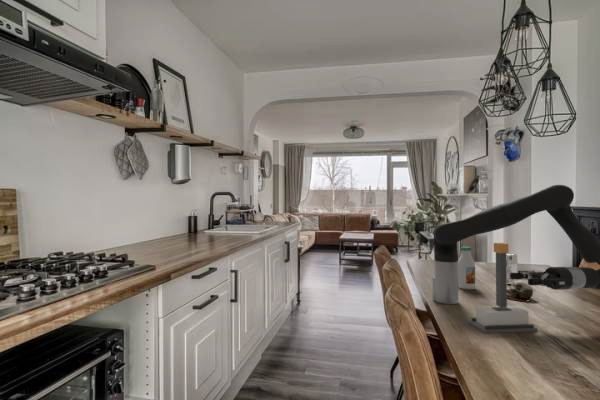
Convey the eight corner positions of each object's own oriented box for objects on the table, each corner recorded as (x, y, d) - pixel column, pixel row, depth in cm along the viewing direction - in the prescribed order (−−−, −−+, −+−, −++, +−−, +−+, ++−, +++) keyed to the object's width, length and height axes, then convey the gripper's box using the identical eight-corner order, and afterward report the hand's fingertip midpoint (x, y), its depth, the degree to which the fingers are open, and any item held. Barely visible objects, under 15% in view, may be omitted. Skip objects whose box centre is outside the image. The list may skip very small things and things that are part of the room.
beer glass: (503, 281, 180) (502, 253, 181) (518, 283, 176) (518, 254, 176) (500, 283, 175) (500, 254, 175) (516, 285, 171) (516, 255, 171)
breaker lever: (502, 304, 117) (502, 242, 117) (509, 307, 113) (508, 243, 114) (494, 304, 116) (493, 242, 117) (500, 307, 113) (499, 244, 113)
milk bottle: (459, 289, 165) (459, 247, 165) (456, 285, 172) (455, 245, 172) (477, 290, 163) (476, 248, 163) (473, 286, 170) (472, 246, 171)
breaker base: (517, 321, 120) (517, 303, 120) (537, 331, 111) (537, 312, 111) (468, 323, 119) (468, 305, 119) (484, 332, 110) (483, 313, 110)
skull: (499, 296, 148) (501, 276, 153) (503, 308, 154) (505, 288, 159) (533, 300, 140) (534, 279, 146) (535, 313, 146) (536, 291, 152)
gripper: (548, 263, 124) (505, 263, 123) (583, 271, 110) (535, 272, 108) (548, 284, 124) (505, 284, 123) (583, 294, 110) (535, 295, 108)
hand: (519, 278), depth 115 cm, fingers open, 8 cm apart
